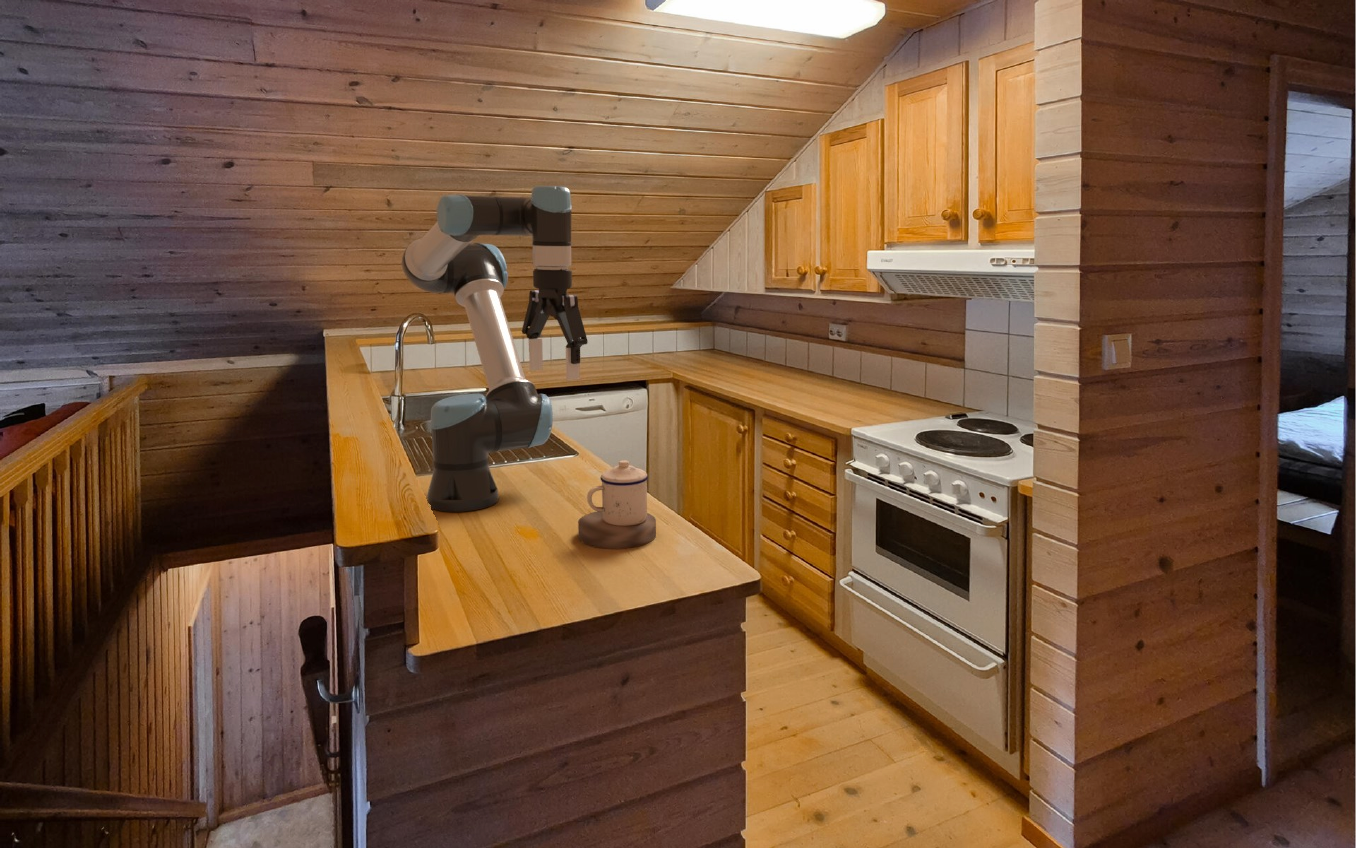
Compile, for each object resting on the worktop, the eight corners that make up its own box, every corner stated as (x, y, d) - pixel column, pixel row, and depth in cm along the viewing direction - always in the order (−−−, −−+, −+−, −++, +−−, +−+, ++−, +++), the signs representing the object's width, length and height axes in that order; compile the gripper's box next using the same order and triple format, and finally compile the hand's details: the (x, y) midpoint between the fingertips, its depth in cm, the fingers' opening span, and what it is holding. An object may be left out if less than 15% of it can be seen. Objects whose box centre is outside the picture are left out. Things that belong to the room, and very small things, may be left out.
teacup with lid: (638, 508, 171) (637, 453, 168) (655, 522, 163) (654, 464, 160) (581, 517, 166) (579, 460, 164) (595, 532, 158) (594, 472, 156)
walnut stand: (607, 554, 155) (607, 539, 154) (563, 534, 166) (563, 519, 165) (671, 537, 164) (671, 522, 164) (625, 518, 175) (625, 504, 175)
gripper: (605, 271, 159) (605, 382, 164) (535, 264, 178) (537, 364, 183) (572, 272, 155) (573, 386, 160) (503, 264, 173) (506, 367, 178)
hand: (554, 374), depth 171 cm, fingers open, 13 cm apart
